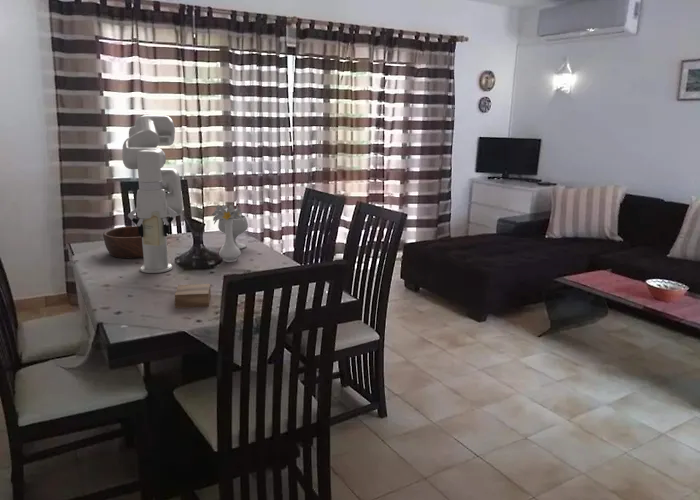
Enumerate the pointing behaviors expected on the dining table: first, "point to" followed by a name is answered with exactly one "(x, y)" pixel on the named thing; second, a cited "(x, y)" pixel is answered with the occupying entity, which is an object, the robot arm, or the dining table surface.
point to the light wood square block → (192, 295)
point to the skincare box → (153, 230)
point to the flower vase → (228, 231)
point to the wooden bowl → (124, 242)
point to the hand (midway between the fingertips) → (154, 235)
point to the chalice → (235, 229)
